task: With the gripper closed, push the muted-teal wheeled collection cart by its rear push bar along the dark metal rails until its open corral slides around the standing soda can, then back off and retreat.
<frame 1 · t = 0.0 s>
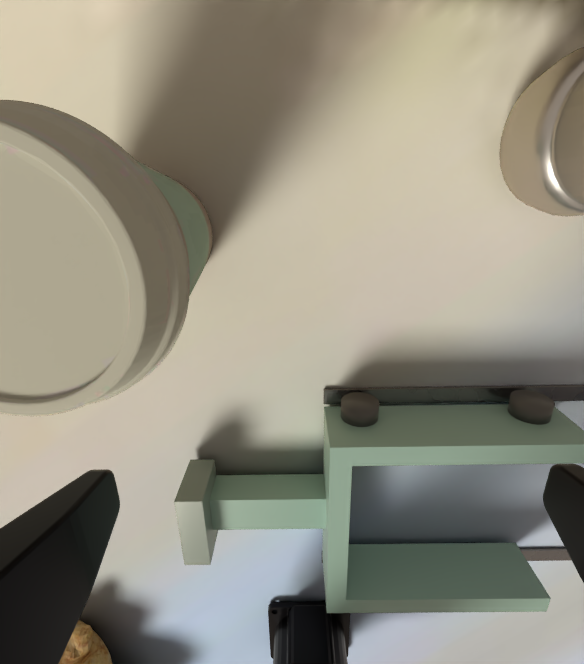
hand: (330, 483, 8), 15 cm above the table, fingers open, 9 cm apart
ginger root: (83, 653, 33), on the table
rails: (532, 480, 26), on the table
plastic bottle: (545, 143, 19), on the table
cart: (366, 511, 24), point 3 cm above the table, slide at 0.0 cm
coffee cup: (159, 233, 21), on the table
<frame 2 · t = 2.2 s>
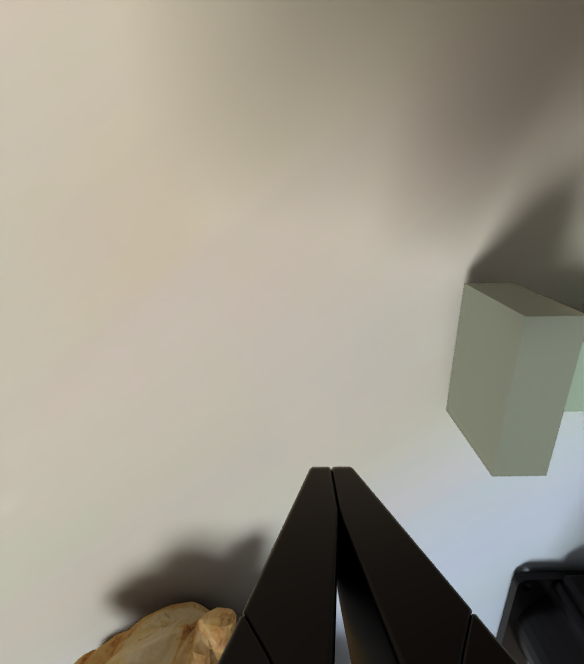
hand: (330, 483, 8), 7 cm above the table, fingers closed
ginger root: (187, 656, 21), on the table
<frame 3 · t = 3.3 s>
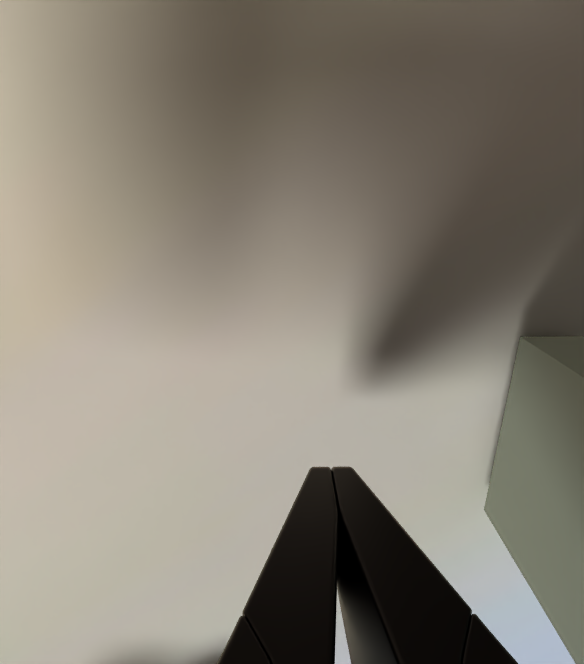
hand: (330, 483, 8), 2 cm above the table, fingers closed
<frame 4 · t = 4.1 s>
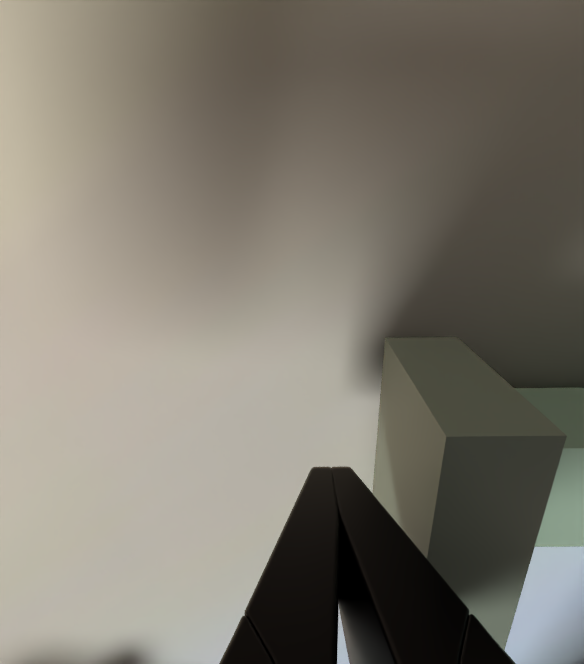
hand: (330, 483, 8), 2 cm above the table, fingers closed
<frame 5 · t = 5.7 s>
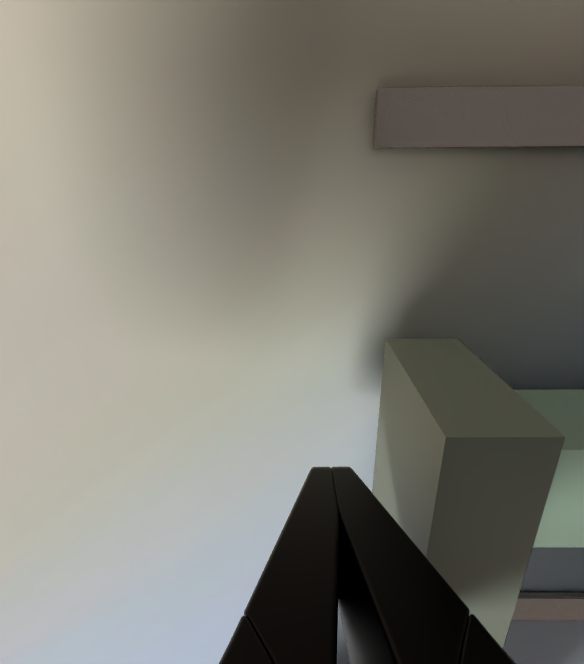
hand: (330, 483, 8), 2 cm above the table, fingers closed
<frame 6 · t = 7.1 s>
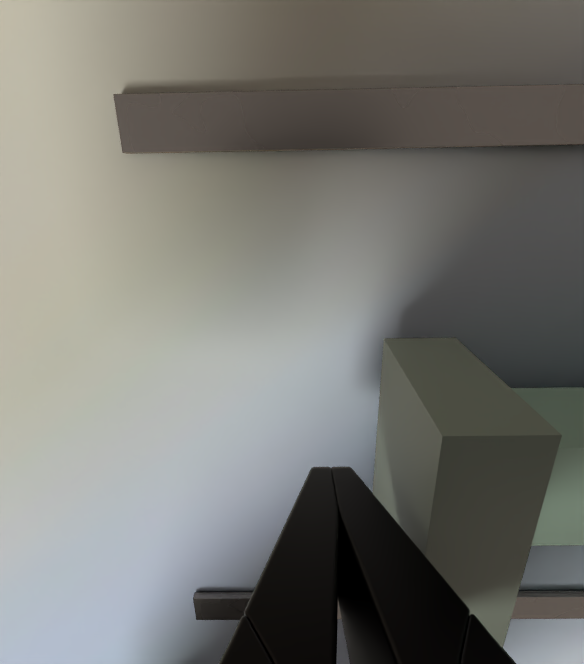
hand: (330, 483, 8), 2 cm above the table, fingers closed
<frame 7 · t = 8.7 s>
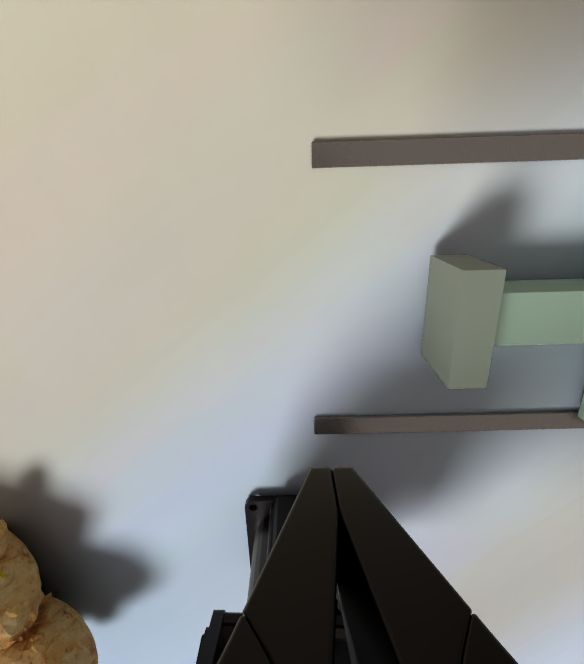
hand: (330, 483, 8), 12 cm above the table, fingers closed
ginger root: (12, 576, 26), on the table
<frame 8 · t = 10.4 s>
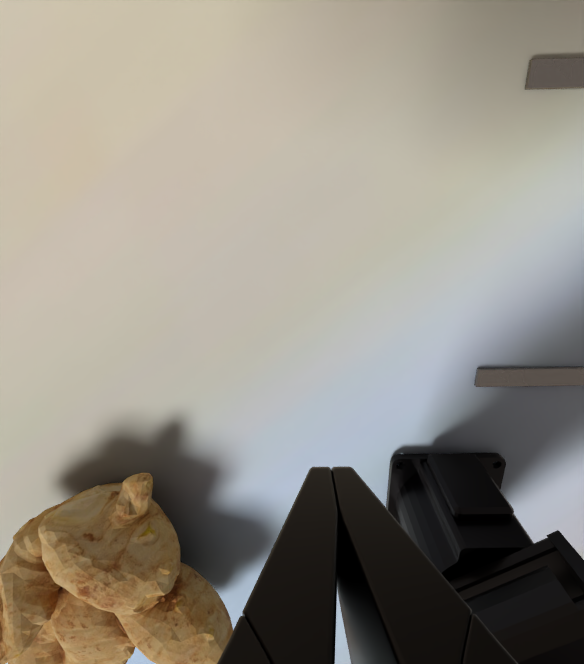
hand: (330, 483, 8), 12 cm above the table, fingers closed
ginger root: (128, 541, 25), on the table
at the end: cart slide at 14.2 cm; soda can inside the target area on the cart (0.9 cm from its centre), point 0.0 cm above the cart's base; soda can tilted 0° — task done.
